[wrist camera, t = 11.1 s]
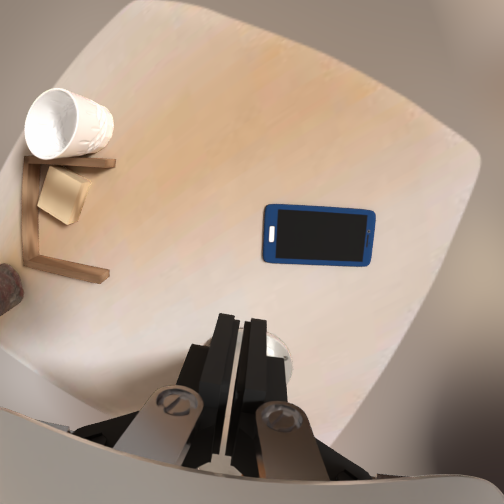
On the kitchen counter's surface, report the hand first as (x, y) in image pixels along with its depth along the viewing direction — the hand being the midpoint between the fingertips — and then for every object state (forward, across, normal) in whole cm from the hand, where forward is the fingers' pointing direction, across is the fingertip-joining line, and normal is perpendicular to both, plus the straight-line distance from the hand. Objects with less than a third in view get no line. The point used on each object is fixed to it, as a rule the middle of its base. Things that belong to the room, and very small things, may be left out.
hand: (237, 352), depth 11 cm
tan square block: (+29, +26, 0) cm, 39 cm away
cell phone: (+30, -8, +1) cm, 31 cm away
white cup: (+29, +23, -9) cm, 38 cm away
